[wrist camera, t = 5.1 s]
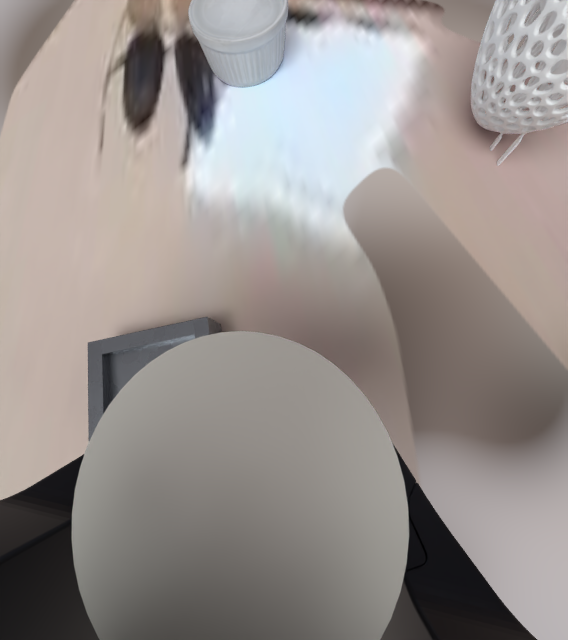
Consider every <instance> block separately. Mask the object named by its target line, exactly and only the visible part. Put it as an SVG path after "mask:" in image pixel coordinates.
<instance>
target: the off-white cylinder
mask: <svg viewBox="0 0 568 640" xmlns="http://www.w3.org/2000/svg"><path fill="white" fill-rule="evenodd" d="M408 542H409V516H408V503H407V496H406V490H405V483H404V479H403V475H402V471H401V468H400V464H399V460H398V456H397V454H396V451H395V449H394V446H393V444H392V441H391V439H390V436H389V434H388V432H387V430H386V428H385V426H384V425H383V423H382V421H381V419H380V417H379V415H378V414H377V412H376V410H375V409H374V408H373V406H372V405H371V403H370V402H369V400H368V399H367V398H366V396H365V395H364V393H363V392H362V391H361V390H360V389H359V388H358V387H357V386H356V385H355V383H354V382H353V381H352V380H351V379H350V378H349V377H348V376H347V375H346V374H345V373H344V372H342V371H341V370H340V369H339V368H338V367H337V366H335V365H334V364H333V363H332V362H330V361H329V360H327V359H326V358H324V357H323V356H321V355H320V354H318V353H317V352H315V351H314V350H312V349H309V348H307V347H305V346H303V345H301V344H299V343H297V342H295V341H292V340H289V339H286V338H283V337H280V336H276V335H271V334H266V333H261V332H248V331H233V332H220V333H216V334H211V335H206V336H202V337H199V338H196V339H193V340H190V341H187V342H184V343H182V344H180V345H178V346H176V347H174V348H172V349H170V350H168V351H166V352H165V353H163V354H162V355H160V356H158V357H157V358H155V359H154V360H152V361H151V362H150V363H148V364H147V365H146V366H145V367H144V368H142V369H141V370H140V371H139V372H138V373H136V374H135V375H134V376H133V377H132V378H131V379H130V380H129V382H128V383H127V384H126V385H125V386H124V387H123V388H122V389H121V390H120V391H119V393H118V394H117V395H116V397H115V398H114V399H113V401H112V402H111V403H110V405H109V406H108V407H107V409H106V411H105V412H104V414H103V416H102V417H101V419H100V421H99V422H98V424H97V426H96V428H95V430H94V432H93V435H92V437H91V439H90V441H89V443H88V446H87V448H86V451H85V454H84V457H83V460H82V463H81V466H80V470H79V474H78V479H77V483H76V487H75V493H74V501H73V509H72V549H73V560H74V567H75V572H76V577H77V582H78V586H79V591H80V594H81V597H82V600H83V603H84V606H85V609H86V612H87V615H88V617H89V619H90V621H91V623H92V625H93V627H94V629H95V632H96V634H97V636H98V638H99V639H100V640H380V639H381V637H382V635H383V633H384V631H385V629H386V627H387V625H388V624H389V622H390V620H391V617H392V614H393V612H394V609H395V606H396V603H397V600H398V597H399V595H400V592H401V587H402V583H403V578H404V573H405V569H406V564H407V553H408Z"/></svg>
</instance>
